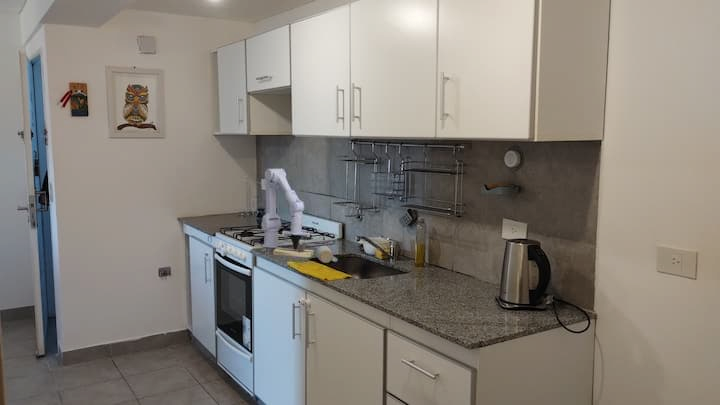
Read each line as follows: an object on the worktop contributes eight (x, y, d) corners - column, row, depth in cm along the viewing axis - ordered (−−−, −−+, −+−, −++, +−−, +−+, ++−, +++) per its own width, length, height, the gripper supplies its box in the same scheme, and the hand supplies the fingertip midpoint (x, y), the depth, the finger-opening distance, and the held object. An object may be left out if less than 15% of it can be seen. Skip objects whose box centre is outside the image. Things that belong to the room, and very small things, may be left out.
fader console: (277, 250, 316) (277, 247, 316) (313, 253, 314) (313, 249, 314) (273, 254, 307) (273, 250, 307) (310, 257, 306) (310, 253, 305)
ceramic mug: (319, 263, 294) (320, 249, 293) (315, 259, 302) (316, 245, 301) (339, 263, 297) (340, 249, 296) (335, 259, 305) (336, 245, 304)
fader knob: (299, 249, 312) (299, 242, 312) (304, 250, 312) (304, 242, 311) (297, 251, 308) (297, 243, 308) (303, 251, 308) (303, 244, 307)
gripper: (281, 224, 305) (280, 249, 307) (308, 226, 304) (307, 251, 306) (284, 222, 312) (283, 246, 314) (311, 224, 311) (309, 248, 313)
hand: (295, 249), depth 310 cm, fingers closed
